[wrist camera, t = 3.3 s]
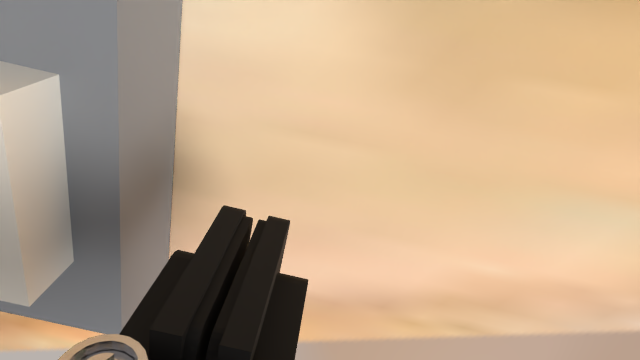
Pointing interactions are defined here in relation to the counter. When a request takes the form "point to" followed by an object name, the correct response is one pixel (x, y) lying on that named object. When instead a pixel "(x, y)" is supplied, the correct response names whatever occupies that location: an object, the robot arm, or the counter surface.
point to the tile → (32, 184)
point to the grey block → (106, 145)
